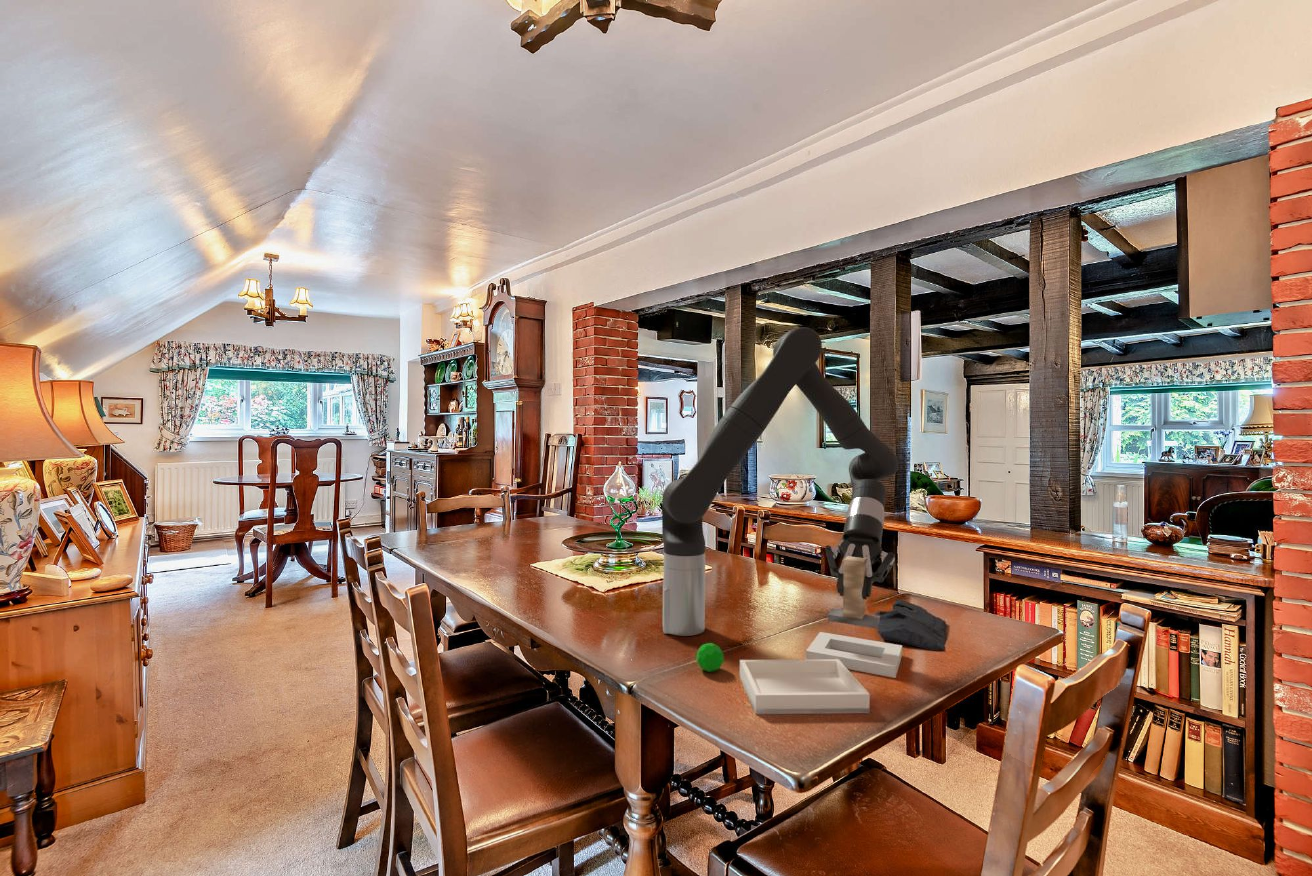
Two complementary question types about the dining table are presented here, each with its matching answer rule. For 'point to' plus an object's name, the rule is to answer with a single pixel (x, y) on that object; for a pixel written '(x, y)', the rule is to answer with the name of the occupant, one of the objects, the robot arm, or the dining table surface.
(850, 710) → the tray
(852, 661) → the slot plate
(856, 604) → the wooden post on base
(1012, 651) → the dining table surface
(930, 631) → the dark slate chunk
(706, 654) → the polyhedron
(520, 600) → the dining table surface
